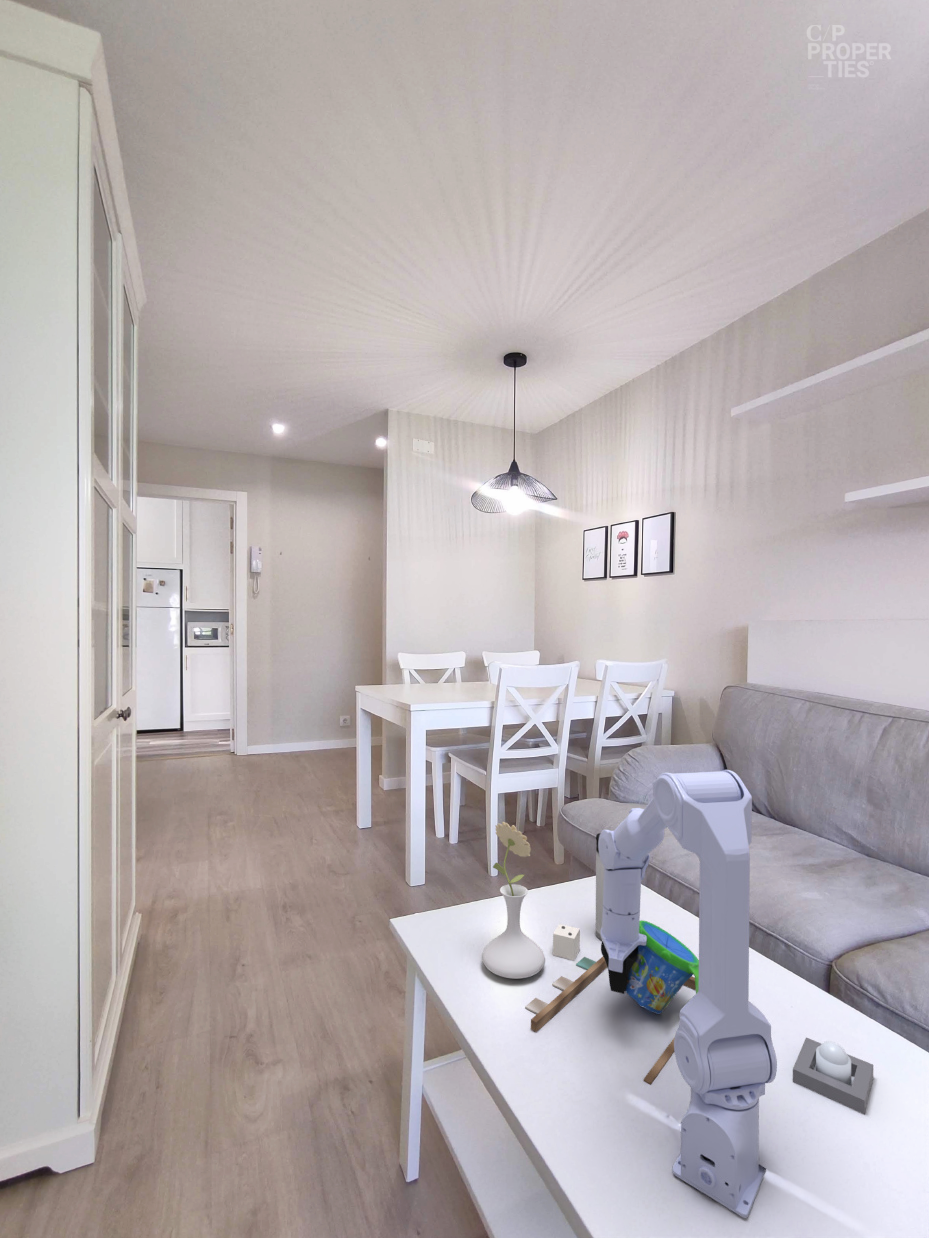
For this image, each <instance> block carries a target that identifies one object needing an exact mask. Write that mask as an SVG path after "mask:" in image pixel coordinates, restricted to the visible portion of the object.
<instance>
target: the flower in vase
mask: <svg viewBox="0 0 929 1238" xmlns="http://www.w3.org/2000/svg"><path fill="white" fill-rule="evenodd" d="M495 834H496V836H497V837H498V839H499V841H500V842H501V843H502V845H503V846H504V847H506V851H505V856H504V859H503V860H504V861H503V865H501V864H499V863H498V862H495V863H494V864H493V866H492V868H493V869H495V870H497V871H498V872H499V873H501V875H502V876H505V877H506V880H507V882H508V884H505V885H502V886H501V887H500V888H499V893H500V894H501V895H502V896H503V898H504V901H505V905H506V913H507V915H506V916H507V919H506V920H507V921H506V928H505V930H504V931H503V932H502V933H501V934H499V935H497V936H496V937H495V938H492V939H491V941H489V942H488V943H487V944H486V945H485V946H484V948H483V951H482V953H481V960H482V962H483V965H484V966H485V967H486V969H487V970H488V971H490V972H492V973H493V974H494V975H497V976H499V977H502V978H507V979H517V980H518V979H527V978H530V977H532V976H535V975H537V974H539V973H540V972H541V970H542V969H543V967H545V964H546V957H545V953H544V951H543V949H542V948H541V946H539V945H538V943H536V941H534V940H533V939H531V938H530V937H529V936H527V934H525V933H524V932H523V931H522V929H521V921H520V920H521V908H522V904H523V901H524V899H525V897H526V896H527V894H528V892H529V890H528V888H527V887H525V886H523V885H521V884H516V883H517V882H519V881H521V880H522V879H523V878H524V876H525V874H518V875H516V876H514V877H513V878H512V879H511V880H510V878H509V876H508V872H507V868H506V863H507V858H508V855H509V854H508V853H509V851H510V852H512V853H513V854H514V855H517V856H519V857H521V858H527V857H531V851H532V848H531V844H530V843H529V842H528V841H527V840H528V837H527V836H526V835H524V834H523V832H522V831H520V830H518V829H517V827H516V826H515V825H511V826H510V824H508V822H505V821H501V823H497V824H495Z"/></svg>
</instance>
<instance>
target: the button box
mask: <svg viewBox="0 0 929 1238" xmlns="http://www.w3.org/2000/svg"><path fill="white" fill-rule="evenodd" d="M821 1044H822V1043H821V1042H819V1041H816V1040H813V1039H812V1038H808V1037H806V1036H805V1039H804V1041H803V1043H802V1046H801V1049H800V1050H799V1053H798V1056H797V1058H796V1061H795V1063H794V1065H793V1067H792V1083H795V1084H796V1085H799V1086H801V1087H803V1088H805V1089H807V1090H810V1091H812V1092H814V1093H816V1094H819V1095H821V1096H823V1097H825V1098H827V1099H829V1100H831V1101H833V1102H836V1103H839V1104H840V1105H843V1106H844V1107H847V1108H849V1109H851V1110H853V1111H856V1112H857V1113H860V1114H862V1115H864V1116H865V1114H866V1111H867V1108H868V1107H867V1106H868V1102H869V1097H870V1095H871V1090H872V1085H873V1082H874V1081H873V1080H874V1064H873V1063H870V1062H869V1061H868V1062H867V1061H865V1060H863V1059H860V1058H858V1057H856V1056H853V1055H851V1054H848V1053H846V1054H847V1055H848V1056H849V1058H850V1059H851V1077H853V1080H852V1082H851V1086H849V1085H847V1084H845V1083H842V1082H840V1081H838V1080H836V1079H833V1078H831V1077H829V1076H826V1075H824V1074H822V1073H819V1072H817V1071H816V1069H814V1068H815V1067H816V1048H817V1047H818V1046H820V1045H821Z"/></svg>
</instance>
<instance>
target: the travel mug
mask: <svg viewBox="0 0 929 1238" xmlns="http://www.w3.org/2000/svg"><path fill="white" fill-rule="evenodd" d="M600 834H601V832H599V833H597V834H596V836H595V840H596V843H595V844H596V847H595V848H596V849H595V935H596V937H597V938H598V939H599V940H601V941H602V938H601V935H600V933H601V928H602V914H603V885H604V866H603V864H602V862H601V859H600V855H599V849H598V841H599V836H600Z"/></svg>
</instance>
